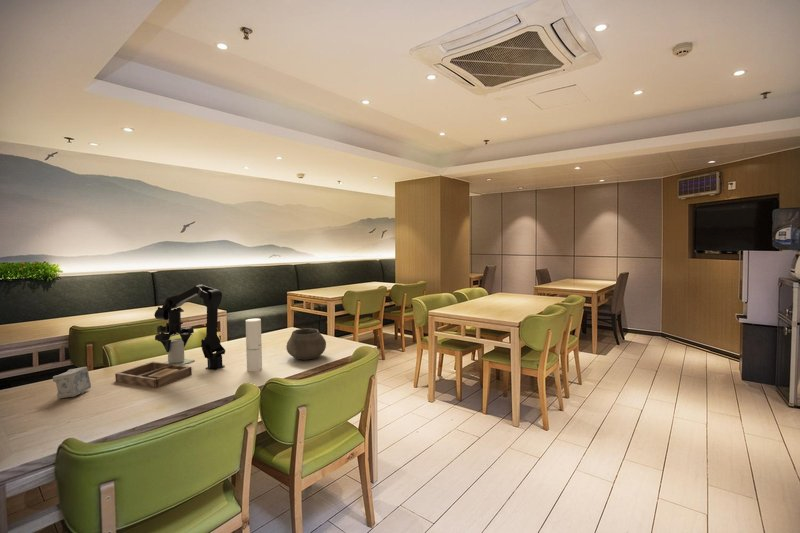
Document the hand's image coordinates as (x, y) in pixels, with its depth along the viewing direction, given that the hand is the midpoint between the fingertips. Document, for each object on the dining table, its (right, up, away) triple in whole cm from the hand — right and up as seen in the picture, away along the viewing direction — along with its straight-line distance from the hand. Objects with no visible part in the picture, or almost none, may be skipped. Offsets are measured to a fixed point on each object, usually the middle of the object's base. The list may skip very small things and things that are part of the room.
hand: (175, 349), depth 201 cm
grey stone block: (-19, -10, -40) cm, 46 cm away
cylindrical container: (+44, -8, -9) cm, 46 cm away
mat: (0, -7, 0) cm, 7 cm away
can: (0, -7, 0) cm, 7 cm away
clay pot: (+66, -7, +10) cm, 67 cm away
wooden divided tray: (+3, -9, -22) cm, 24 cm away
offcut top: (+8, -7, -24) cm, 26 cm away
